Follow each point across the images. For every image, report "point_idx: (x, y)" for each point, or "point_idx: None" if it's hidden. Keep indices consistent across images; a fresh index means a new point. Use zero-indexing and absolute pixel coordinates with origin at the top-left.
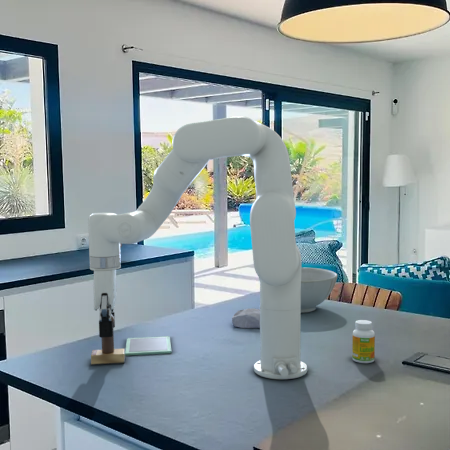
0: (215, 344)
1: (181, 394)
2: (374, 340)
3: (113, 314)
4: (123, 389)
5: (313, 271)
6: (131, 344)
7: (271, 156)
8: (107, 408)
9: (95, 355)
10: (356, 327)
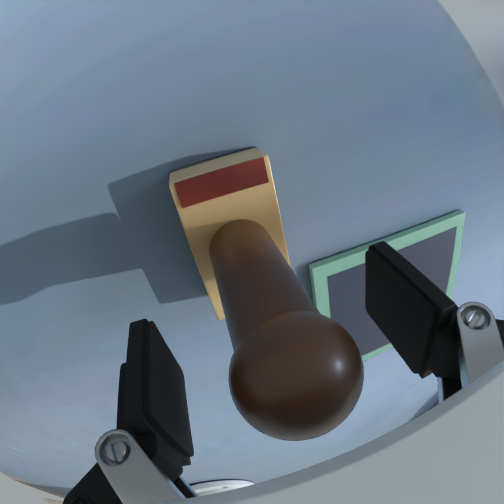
0: (368, 409)
1: (58, 439)
2: None
3: (411, 369)
4: (13, 357)
5: None
6: (407, 251)
7: None
8: None
9: (177, 206)
10: None
